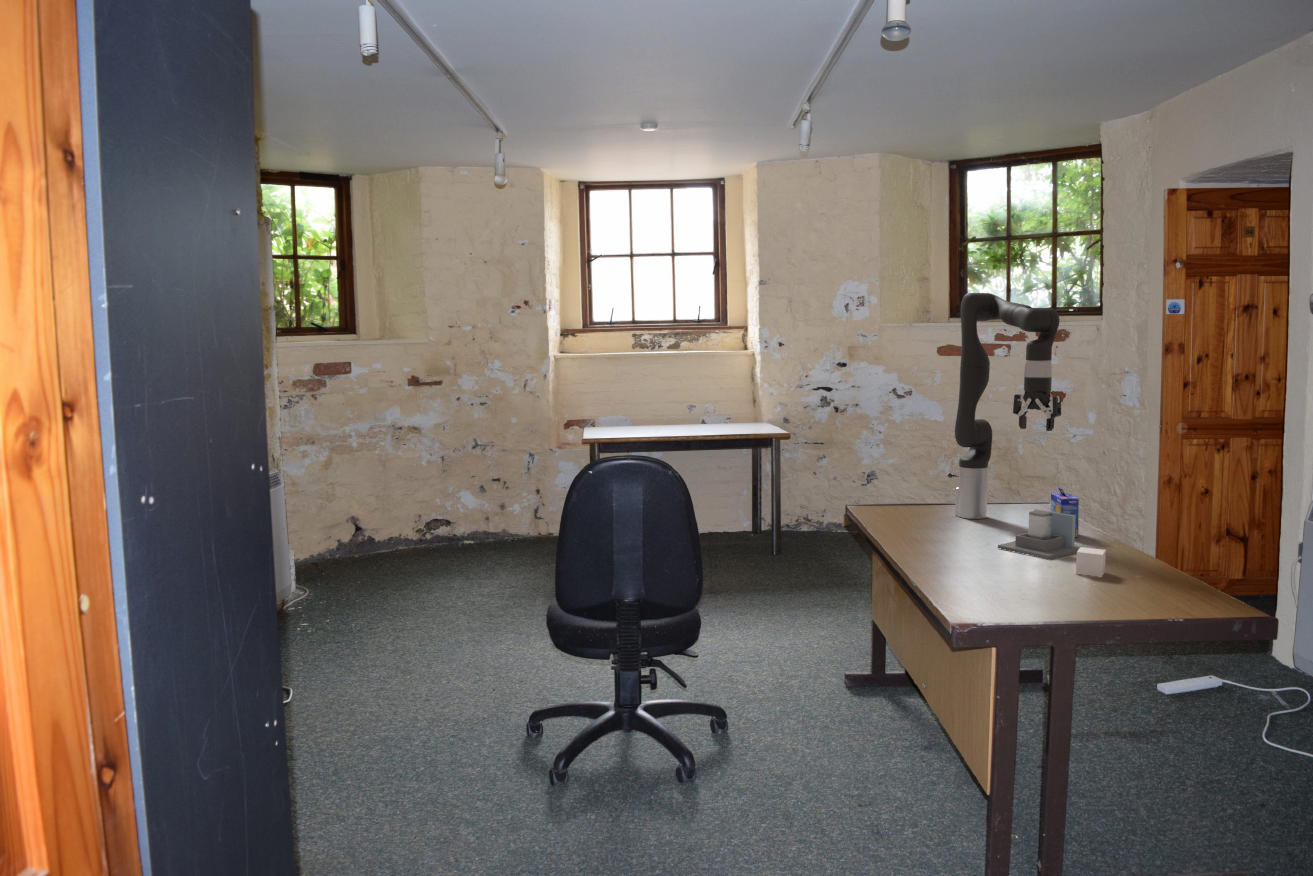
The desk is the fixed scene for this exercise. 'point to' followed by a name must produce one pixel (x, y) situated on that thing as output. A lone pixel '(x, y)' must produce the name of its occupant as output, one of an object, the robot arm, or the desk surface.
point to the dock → (1052, 548)
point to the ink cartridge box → (1066, 506)
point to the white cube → (1090, 561)
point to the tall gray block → (1040, 525)
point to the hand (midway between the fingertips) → (1035, 429)
